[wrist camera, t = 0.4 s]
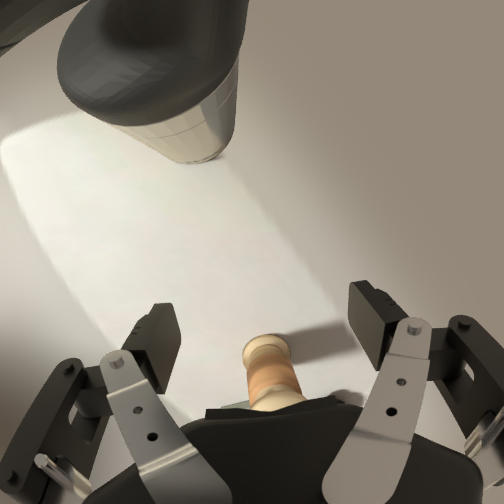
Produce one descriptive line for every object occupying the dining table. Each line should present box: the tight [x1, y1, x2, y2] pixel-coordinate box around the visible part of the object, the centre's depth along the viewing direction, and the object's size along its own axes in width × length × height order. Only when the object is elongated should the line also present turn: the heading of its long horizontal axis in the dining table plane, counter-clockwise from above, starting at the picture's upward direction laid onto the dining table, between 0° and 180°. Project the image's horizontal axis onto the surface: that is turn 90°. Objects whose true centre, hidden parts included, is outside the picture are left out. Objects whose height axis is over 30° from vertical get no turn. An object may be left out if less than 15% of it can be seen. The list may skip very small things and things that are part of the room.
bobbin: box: [243, 335, 307, 411], centre depth 28 cm, size 6×6×12 cm
